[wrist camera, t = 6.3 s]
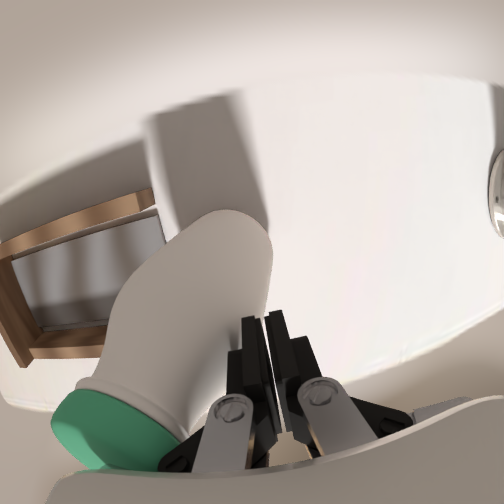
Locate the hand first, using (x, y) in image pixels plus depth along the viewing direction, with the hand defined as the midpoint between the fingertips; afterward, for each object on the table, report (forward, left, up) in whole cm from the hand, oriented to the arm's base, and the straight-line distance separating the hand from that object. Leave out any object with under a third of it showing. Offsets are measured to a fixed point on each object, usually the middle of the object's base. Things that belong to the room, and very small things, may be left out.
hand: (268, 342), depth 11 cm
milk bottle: (+2, 0, -14) cm, 14 cm away
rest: (+18, 0, -14) cm, 23 cm away
